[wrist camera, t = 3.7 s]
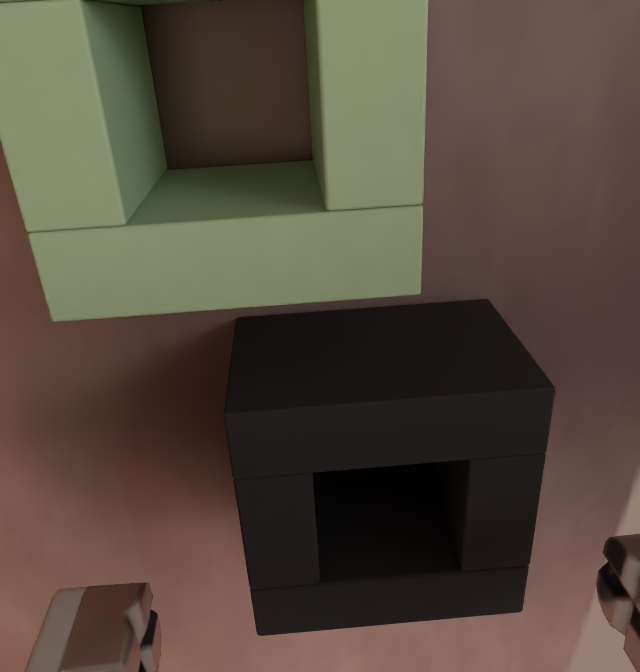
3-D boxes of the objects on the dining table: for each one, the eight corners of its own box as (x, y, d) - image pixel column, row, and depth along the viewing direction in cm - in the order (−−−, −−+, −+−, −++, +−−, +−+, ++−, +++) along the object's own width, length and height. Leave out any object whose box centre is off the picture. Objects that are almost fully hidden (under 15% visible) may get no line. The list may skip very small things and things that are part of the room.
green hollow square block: (381, -106, 11) (434, -169, 7) (383, 224, 14) (422, 296, 10) (37, -89, 11) (-82, -142, 7) (110, 243, 13) (50, 324, 10)
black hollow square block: (488, 298, 15) (557, 387, 11) (473, 492, 17) (523, 613, 14) (236, 317, 14) (222, 414, 11) (261, 510, 17) (256, 638, 14)
